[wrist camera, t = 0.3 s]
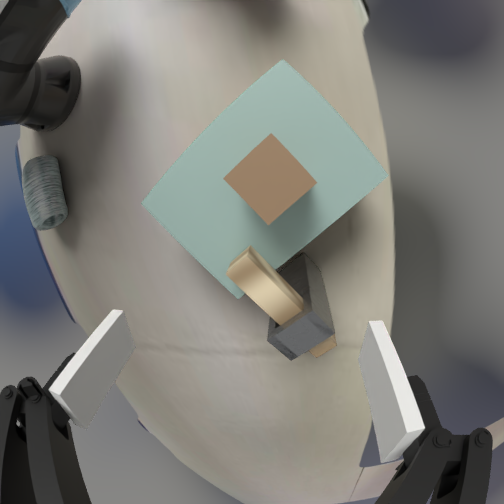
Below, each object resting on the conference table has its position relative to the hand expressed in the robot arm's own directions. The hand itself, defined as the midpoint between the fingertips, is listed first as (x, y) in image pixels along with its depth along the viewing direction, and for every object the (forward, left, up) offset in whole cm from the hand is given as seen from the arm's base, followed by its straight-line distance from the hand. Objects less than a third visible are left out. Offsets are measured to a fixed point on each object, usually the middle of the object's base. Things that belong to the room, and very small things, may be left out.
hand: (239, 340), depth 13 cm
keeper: (+10, -3, -27) cm, 28 cm away
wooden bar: (+7, -3, -16) cm, 18 cm away
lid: (-4, +3, -19) cm, 19 cm away
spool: (-31, -25, -27) cm, 48 cm away
